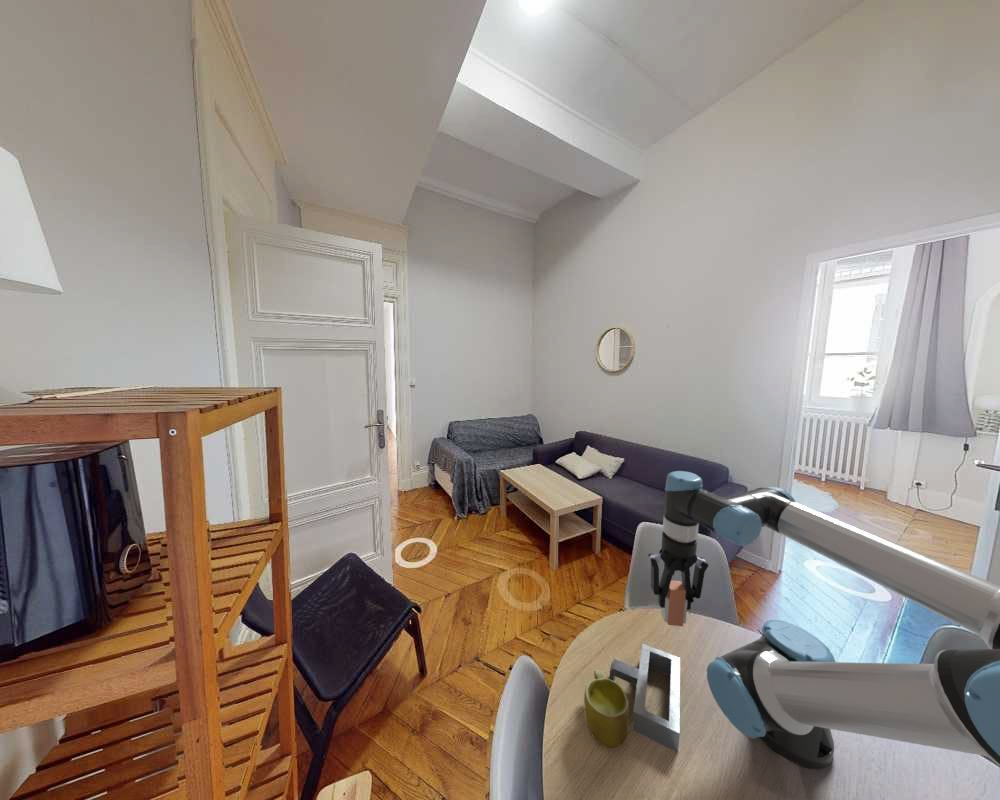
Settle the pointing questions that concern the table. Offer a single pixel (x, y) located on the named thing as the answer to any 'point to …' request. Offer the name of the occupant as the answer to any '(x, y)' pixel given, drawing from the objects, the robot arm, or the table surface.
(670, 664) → the hollow metal rectangle ring
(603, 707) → the mug
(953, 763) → the table surface
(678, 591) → the terracotta clay brick
